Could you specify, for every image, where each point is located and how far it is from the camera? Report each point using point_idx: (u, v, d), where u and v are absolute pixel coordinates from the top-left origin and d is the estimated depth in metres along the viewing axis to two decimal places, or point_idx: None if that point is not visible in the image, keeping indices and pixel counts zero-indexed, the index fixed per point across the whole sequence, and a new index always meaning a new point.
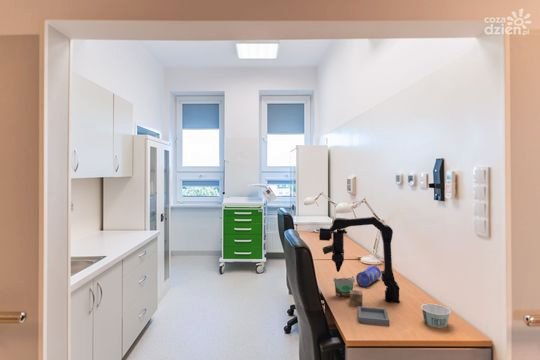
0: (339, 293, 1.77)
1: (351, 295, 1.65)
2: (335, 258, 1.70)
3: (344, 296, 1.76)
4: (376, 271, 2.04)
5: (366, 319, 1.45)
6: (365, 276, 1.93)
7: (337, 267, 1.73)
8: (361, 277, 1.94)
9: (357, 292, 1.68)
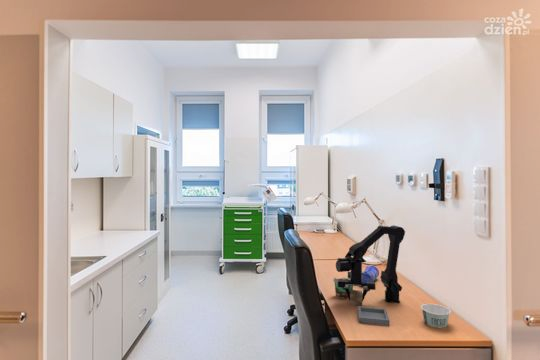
0: (339, 293, 1.77)
1: (351, 295, 1.65)
2: None
3: (344, 296, 1.76)
4: (375, 271, 2.04)
5: (366, 319, 1.45)
6: (367, 276, 1.92)
7: None
8: (363, 277, 1.93)
9: (357, 292, 1.68)
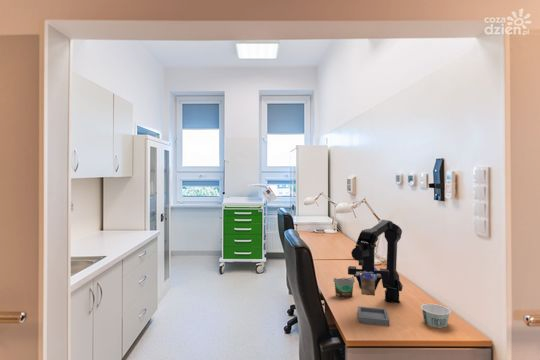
0: (339, 293, 1.77)
1: (362, 283, 1.52)
2: None
3: (344, 296, 1.76)
4: None
5: (366, 319, 1.45)
6: (369, 276, 1.92)
7: None
8: None
9: (369, 280, 1.54)
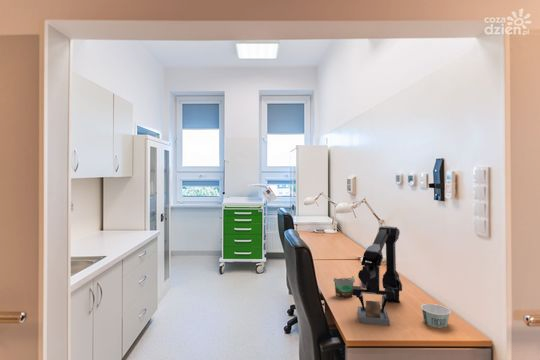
0: (339, 293, 1.77)
1: (368, 307, 1.48)
2: None
3: (344, 296, 1.76)
4: None
5: (366, 319, 1.45)
6: None
7: None
8: None
9: (374, 303, 1.50)
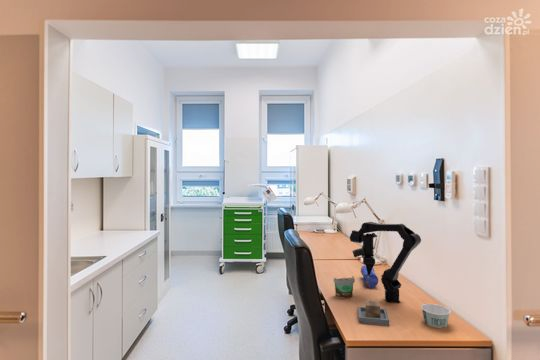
0: (339, 293, 1.77)
1: (368, 307, 1.48)
2: (367, 261, 1.74)
3: (344, 296, 1.76)
4: (373, 270, 2.06)
5: (366, 319, 1.45)
6: (373, 277, 1.91)
7: (368, 270, 1.77)
8: (369, 278, 1.91)
9: (374, 303, 1.50)
